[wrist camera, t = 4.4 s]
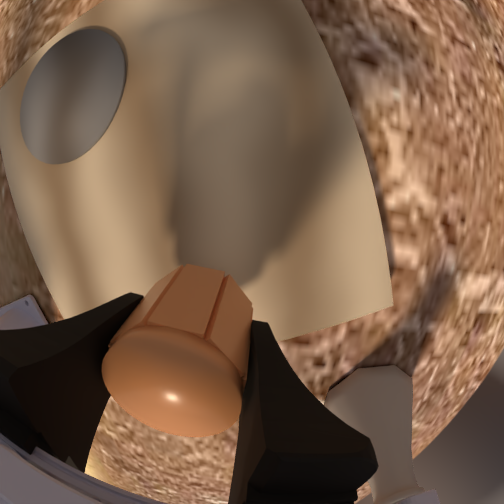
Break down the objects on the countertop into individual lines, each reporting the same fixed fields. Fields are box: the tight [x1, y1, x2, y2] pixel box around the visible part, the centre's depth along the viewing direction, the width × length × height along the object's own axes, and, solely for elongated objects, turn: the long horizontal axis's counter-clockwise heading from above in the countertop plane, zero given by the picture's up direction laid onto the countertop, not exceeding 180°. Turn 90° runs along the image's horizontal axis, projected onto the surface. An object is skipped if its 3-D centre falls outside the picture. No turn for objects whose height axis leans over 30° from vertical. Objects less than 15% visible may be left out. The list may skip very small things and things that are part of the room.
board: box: [0, 0, 393, 342], centre depth 11 cm, size 20×22×6 cm
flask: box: [324, 365, 425, 504], centre depth 13 cm, size 7×7×10 cm
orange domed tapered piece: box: [102, 264, 253, 437], centre depth 10 cm, size 4×4×5 cm
